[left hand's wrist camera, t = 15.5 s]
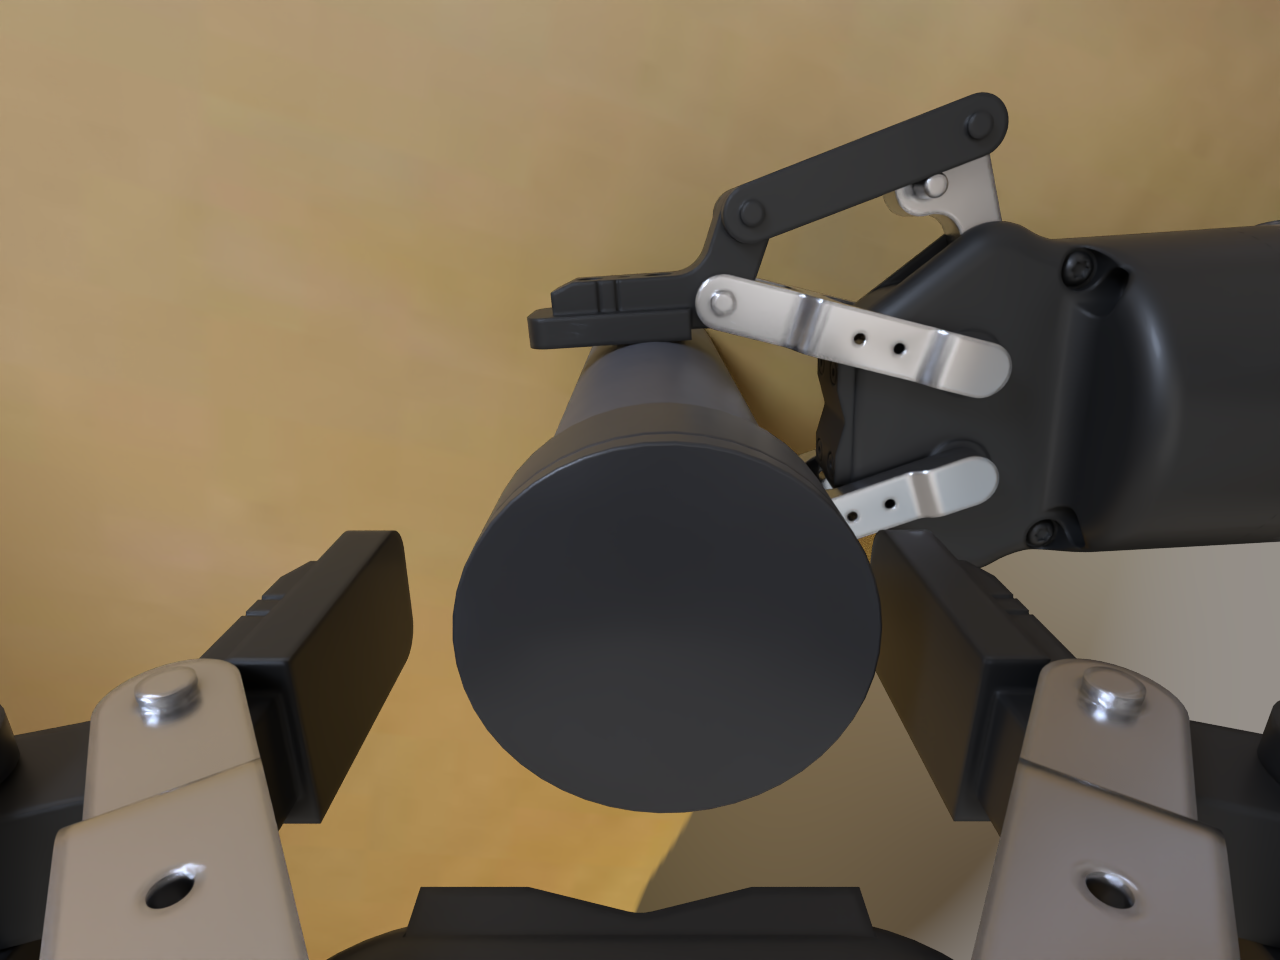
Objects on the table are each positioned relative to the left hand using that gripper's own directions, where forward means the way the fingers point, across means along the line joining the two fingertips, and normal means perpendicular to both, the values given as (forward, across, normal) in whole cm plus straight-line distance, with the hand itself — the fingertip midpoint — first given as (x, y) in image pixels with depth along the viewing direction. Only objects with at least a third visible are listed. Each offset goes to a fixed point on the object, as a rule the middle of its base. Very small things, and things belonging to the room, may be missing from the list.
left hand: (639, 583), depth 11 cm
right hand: (+7, -2, 0) cm, 8 cm away
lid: (-2, 0, +1) cm, 3 cm away
